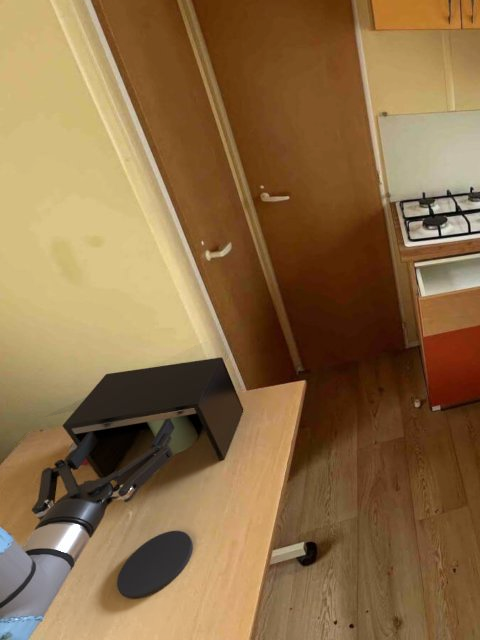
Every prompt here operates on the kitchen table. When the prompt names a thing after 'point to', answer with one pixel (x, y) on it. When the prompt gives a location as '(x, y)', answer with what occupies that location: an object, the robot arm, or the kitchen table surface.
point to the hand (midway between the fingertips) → (132, 429)
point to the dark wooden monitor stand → (155, 408)
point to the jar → (177, 432)
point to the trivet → (155, 564)
